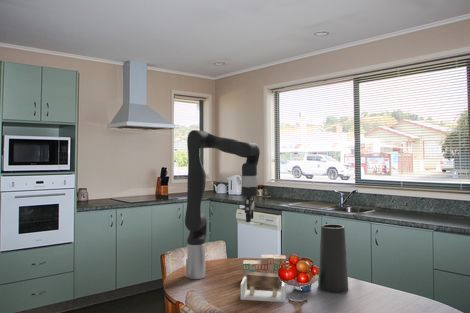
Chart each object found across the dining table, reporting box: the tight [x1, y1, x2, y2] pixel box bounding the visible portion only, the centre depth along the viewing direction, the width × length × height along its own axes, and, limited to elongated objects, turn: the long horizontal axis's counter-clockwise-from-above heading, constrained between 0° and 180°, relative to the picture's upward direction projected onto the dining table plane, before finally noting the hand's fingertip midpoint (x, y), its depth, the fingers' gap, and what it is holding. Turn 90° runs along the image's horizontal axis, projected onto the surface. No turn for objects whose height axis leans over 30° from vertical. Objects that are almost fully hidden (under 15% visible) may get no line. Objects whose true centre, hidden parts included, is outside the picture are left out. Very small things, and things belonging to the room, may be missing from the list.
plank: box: [247, 272, 281, 290], centre depth 167 cm, size 14×4×5 cm, turn 74°
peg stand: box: [239, 277, 287, 303], centre depth 166 cm, size 19×10×7 cm, turn 80°
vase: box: [317, 223, 349, 294], centre depth 177 cm, size 14×14×29 cm
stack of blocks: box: [242, 254, 287, 284], centre depth 188 cm, size 21×6×12 cm, turn 85°
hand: (249, 220), depth 176 cm, fingers open, 8 cm apart
